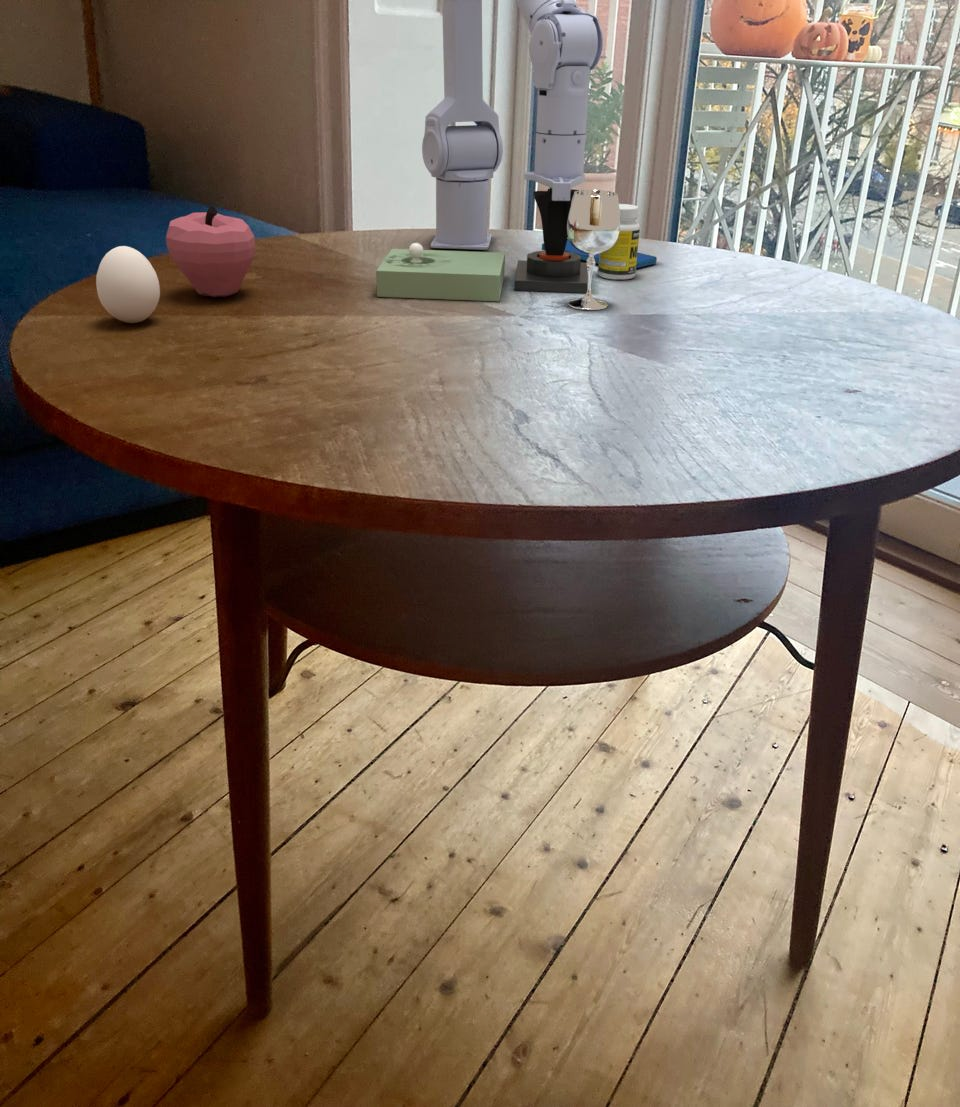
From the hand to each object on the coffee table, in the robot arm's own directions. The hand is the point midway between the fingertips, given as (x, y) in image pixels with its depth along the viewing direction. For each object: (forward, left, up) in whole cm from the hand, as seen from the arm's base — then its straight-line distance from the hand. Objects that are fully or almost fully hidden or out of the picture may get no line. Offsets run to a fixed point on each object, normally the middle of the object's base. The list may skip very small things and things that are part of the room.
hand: (554, 254), depth 120 cm
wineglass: (+11, +4, -3) cm, 12 cm away
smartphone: (-14, +6, -3) cm, 16 cm away
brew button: (0, 0, -2) cm, 2 cm away
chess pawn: (+5, -16, -3) cm, 17 cm away
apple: (+13, -38, -3) cm, 40 cm away
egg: (+25, -43, -3) cm, 50 cm away
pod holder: (+5, -13, -3) cm, 14 cm away
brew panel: (0, 0, -3) cm, 3 cm away
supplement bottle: (-4, +8, -3) cm, 10 cm away
